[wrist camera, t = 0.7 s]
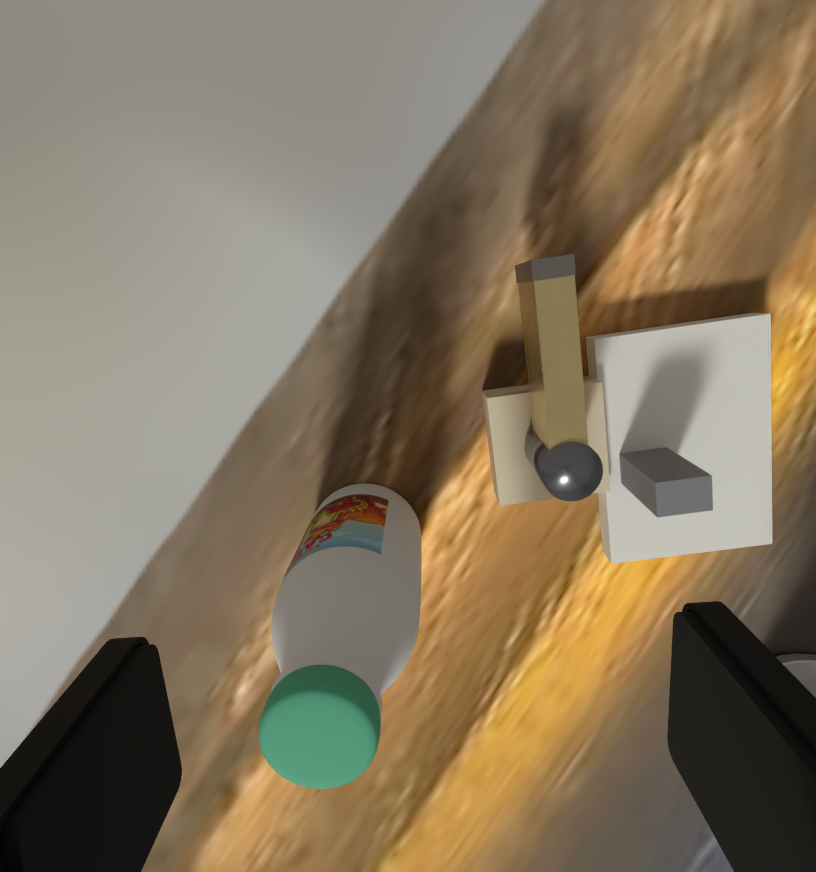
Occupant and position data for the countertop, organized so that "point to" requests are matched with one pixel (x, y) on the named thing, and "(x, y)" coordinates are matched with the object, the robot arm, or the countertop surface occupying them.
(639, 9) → the countertop surface
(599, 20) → the countertop surface
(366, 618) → the milk bottle
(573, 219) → the countertop surface
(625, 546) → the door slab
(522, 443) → the jamb block
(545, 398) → the bar
